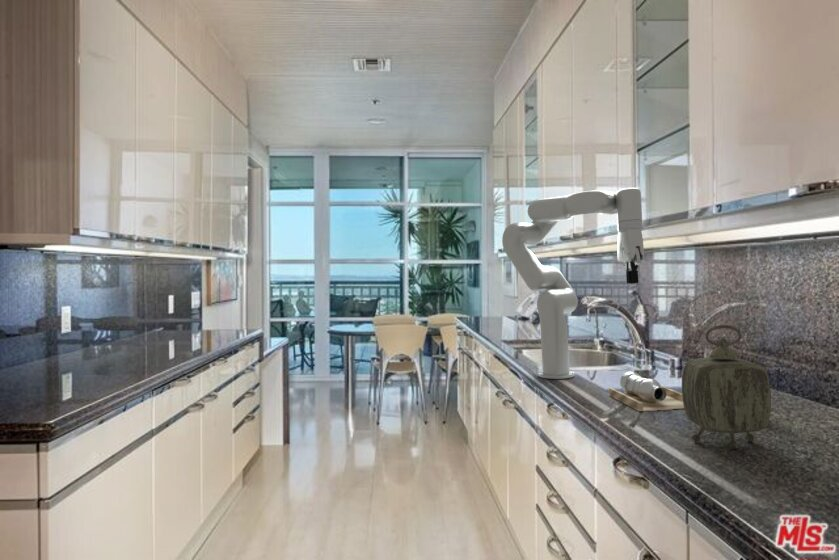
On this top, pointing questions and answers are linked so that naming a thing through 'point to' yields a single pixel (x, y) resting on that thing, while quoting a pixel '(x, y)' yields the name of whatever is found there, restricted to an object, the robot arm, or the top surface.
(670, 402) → the wooden tray
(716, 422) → the tabletop clock
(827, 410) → the top surface
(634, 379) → the plastic bottle
